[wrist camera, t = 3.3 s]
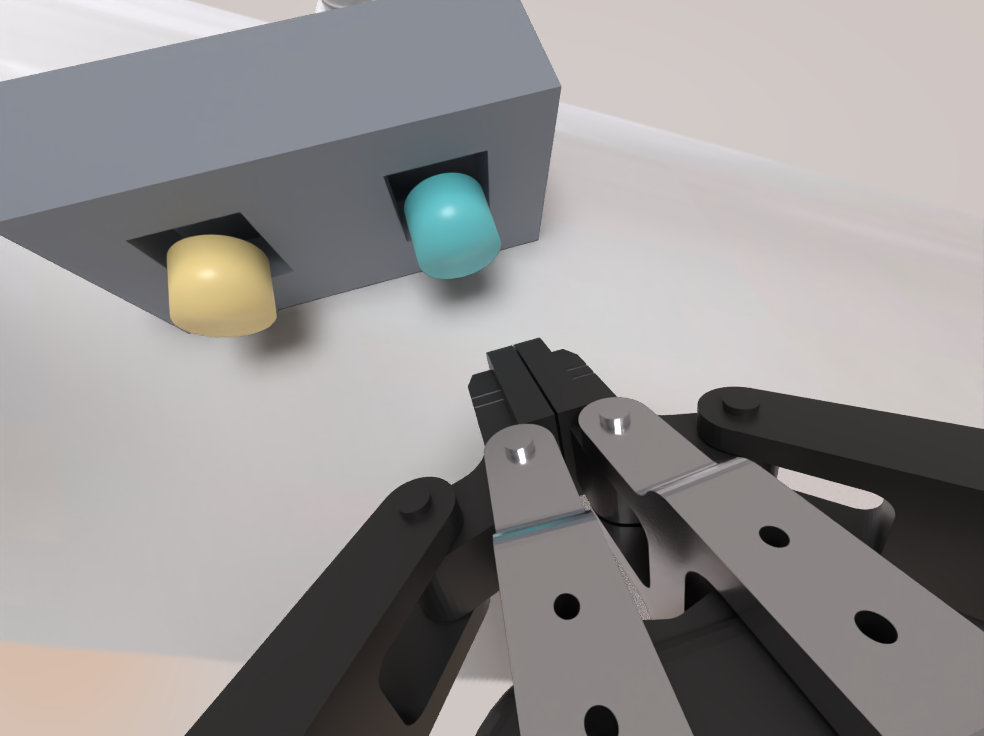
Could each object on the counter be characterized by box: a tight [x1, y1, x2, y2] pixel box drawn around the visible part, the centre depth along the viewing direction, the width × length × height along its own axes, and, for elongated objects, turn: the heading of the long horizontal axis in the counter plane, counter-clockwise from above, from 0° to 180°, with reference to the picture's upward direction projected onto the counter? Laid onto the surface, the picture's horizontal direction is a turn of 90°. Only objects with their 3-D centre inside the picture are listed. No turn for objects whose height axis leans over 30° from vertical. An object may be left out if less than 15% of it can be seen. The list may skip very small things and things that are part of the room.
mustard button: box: [167, 235, 277, 337], centre depth 20 cm, size 3×4×4 cm
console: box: [0, 0, 561, 333], centre depth 23 cm, size 8×24×11 cm, turn 107°
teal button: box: [404, 173, 501, 279], centre depth 21 cm, size 3×4×4 cm
